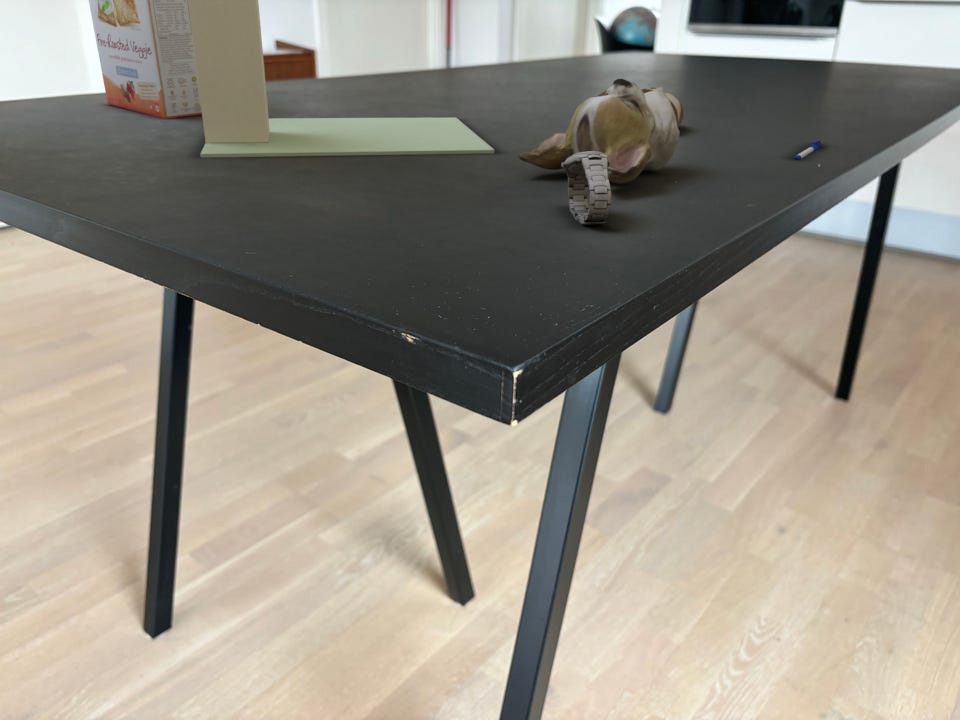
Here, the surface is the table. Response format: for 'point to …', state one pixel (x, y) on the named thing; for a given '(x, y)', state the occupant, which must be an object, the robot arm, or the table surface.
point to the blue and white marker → (808, 150)
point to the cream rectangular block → (230, 70)
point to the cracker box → (147, 56)
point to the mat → (357, 138)
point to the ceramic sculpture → (616, 132)
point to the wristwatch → (588, 186)
